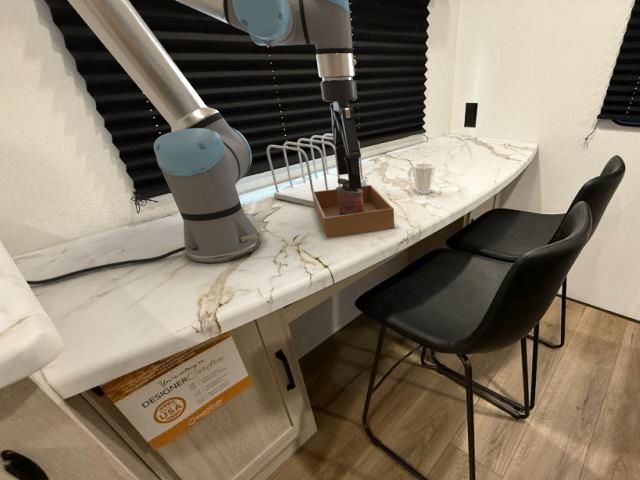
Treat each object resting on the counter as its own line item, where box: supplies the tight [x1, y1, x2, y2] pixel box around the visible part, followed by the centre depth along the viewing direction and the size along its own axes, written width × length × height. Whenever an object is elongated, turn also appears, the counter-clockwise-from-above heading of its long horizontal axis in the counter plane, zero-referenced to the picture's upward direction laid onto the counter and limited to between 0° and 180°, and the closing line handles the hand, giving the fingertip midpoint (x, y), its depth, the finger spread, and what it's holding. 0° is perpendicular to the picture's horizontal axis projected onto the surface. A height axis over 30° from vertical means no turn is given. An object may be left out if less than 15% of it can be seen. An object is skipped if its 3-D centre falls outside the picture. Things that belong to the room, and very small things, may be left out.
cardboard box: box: [312, 184, 395, 239], centre depth 86 cm, size 17×21×5 cm
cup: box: [408, 162, 436, 195], centre depth 104 cm, size 7×10×8 cm
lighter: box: [336, 178, 364, 215], centre depth 85 cm, size 8×3×10 cm, turn 58°
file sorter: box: [266, 133, 367, 208], centre depth 102 cm, size 25×17×16 cm
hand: (349, 181), depth 82 cm, fingers open, 13 cm apart
